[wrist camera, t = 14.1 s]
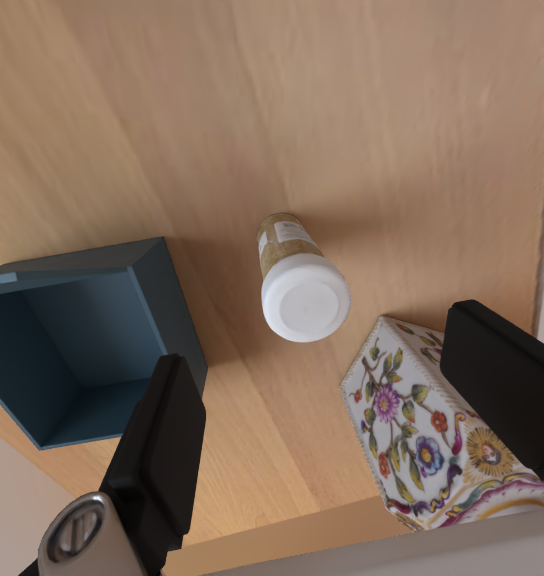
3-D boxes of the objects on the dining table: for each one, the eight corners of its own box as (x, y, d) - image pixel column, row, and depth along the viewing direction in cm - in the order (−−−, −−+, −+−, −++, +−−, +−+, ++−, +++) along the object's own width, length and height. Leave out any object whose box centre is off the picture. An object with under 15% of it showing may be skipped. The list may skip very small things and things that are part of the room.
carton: (3, 263, 25) (-86, 303, 18) (163, 236, 25) (131, 265, 18) (83, 389, 32) (38, 450, 25) (208, 368, 32) (197, 424, 25)
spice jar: (246, 239, 26) (243, 314, 13) (279, 201, 24) (309, 245, 12) (282, 269, 27) (308, 360, 15) (315, 234, 26) (372, 303, 14)
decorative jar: (413, 404, 37) (539, 598, 21) (335, 388, 35) (409, 592, 18) (466, 334, 32) (682, 513, 16) (380, 309, 30) (532, 490, 14)
